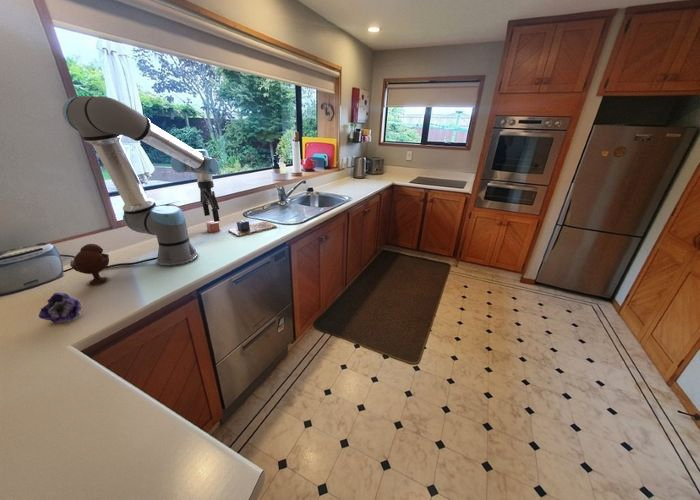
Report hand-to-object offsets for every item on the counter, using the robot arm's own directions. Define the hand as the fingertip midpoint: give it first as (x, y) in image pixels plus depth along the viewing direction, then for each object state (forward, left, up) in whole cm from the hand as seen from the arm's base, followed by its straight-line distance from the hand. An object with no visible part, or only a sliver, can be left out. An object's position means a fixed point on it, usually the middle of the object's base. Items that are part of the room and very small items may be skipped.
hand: (212, 218), depth 158 cm
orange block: (0, 0, -7) cm, 7 cm away
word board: (+18, -12, -7) cm, 23 cm away
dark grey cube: (+12, -12, -6) cm, 18 cm away
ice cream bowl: (-54, -29, -7) cm, 62 cm away
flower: (-64, -49, -7) cm, 81 cm away
